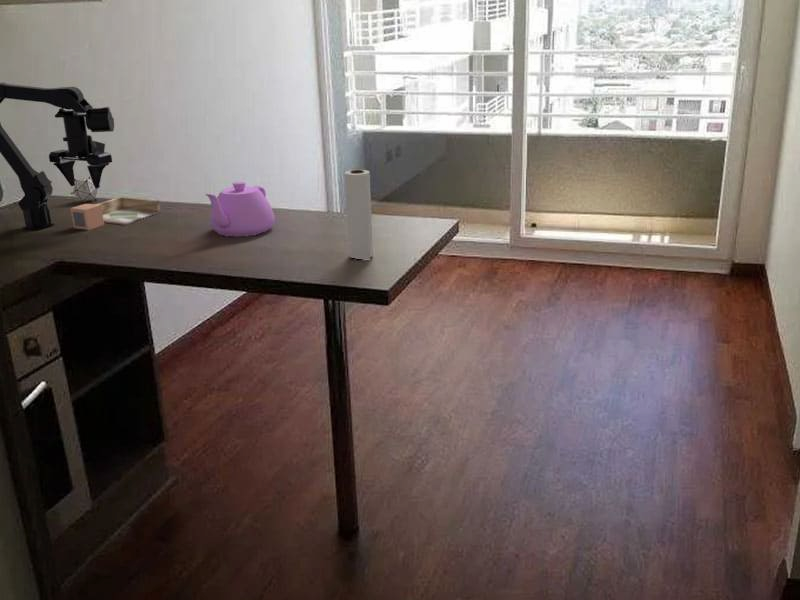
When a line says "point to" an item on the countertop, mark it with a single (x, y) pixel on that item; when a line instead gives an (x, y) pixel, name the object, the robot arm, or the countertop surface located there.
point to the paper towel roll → (359, 213)
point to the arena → (128, 209)
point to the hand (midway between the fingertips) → (84, 187)
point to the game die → (85, 190)
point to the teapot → (241, 211)
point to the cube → (87, 216)
